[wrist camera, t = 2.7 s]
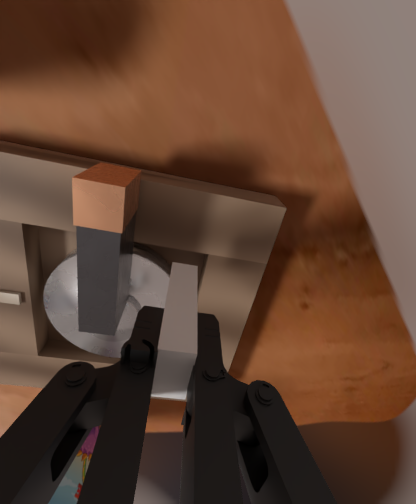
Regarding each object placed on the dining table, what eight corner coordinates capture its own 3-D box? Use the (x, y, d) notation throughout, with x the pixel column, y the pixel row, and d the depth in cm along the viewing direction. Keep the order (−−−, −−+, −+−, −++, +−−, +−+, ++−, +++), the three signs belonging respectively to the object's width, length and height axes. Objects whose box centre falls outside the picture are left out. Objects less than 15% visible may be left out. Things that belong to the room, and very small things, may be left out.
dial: (173, 347, 27) (167, 413, 21) (58, 333, 25) (16, 400, 19) (209, 175, 19) (214, 204, 13) (45, 142, 17) (-31, 157, 12)
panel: (-31, 134, 18) (-75, 138, 15) (275, 195, 21) (288, 209, 18) (11, 357, 28) (-11, 386, 25) (214, 379, 31) (216, 407, 28)
